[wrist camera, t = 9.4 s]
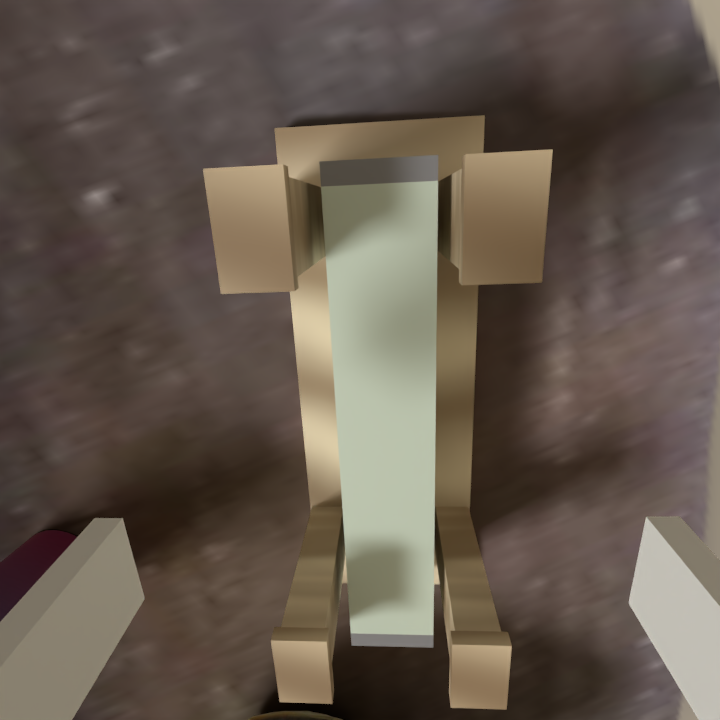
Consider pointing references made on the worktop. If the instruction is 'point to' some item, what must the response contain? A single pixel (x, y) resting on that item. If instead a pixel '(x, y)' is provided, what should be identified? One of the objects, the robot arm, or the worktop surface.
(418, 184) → the rail
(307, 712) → the ceramic bowl
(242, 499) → the worktop surface
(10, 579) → the cup
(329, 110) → the worktop surface
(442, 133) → the bar on post stand
